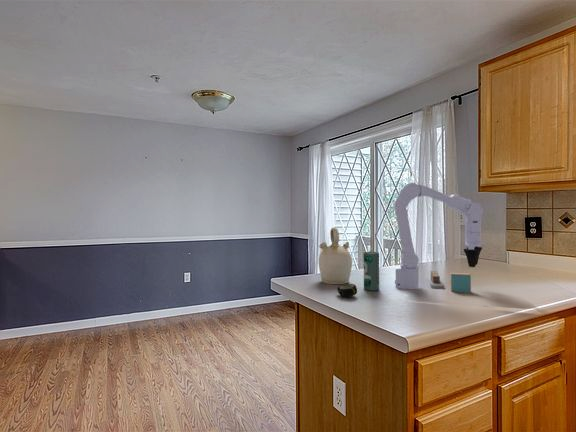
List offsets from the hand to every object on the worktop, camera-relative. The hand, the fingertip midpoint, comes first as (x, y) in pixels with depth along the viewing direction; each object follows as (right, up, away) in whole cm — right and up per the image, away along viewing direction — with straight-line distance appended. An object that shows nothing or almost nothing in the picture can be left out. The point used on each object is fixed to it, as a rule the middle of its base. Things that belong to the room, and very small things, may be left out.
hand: (473, 265), depth 139 cm
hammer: (-10, -10, +12) cm, 18 cm away
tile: (-7, -10, -3) cm, 12 cm away
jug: (-53, -10, +18) cm, 57 cm away
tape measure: (-51, -10, -6) cm, 52 cm away
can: (-40, -10, +3) cm, 42 cm away
